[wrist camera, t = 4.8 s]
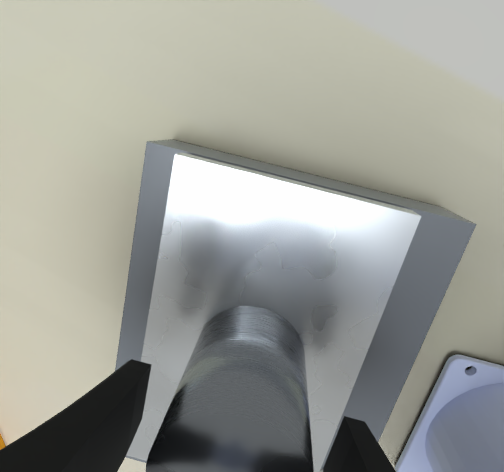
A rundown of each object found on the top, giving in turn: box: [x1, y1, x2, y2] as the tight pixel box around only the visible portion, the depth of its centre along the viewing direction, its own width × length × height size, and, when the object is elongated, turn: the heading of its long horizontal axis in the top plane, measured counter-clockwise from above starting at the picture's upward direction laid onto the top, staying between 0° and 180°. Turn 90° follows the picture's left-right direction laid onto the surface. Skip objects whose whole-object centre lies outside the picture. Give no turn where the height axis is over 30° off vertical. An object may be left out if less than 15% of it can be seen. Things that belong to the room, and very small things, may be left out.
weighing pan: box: [126, 153, 421, 472], centre depth 13 cm, size 8×13×1 cm, turn 167°
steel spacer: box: [146, 306, 314, 472], centre depth 11 cm, size 4×4×5 cm
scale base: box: [115, 140, 476, 472], centre depth 16 cm, size 12×15×3 cm
